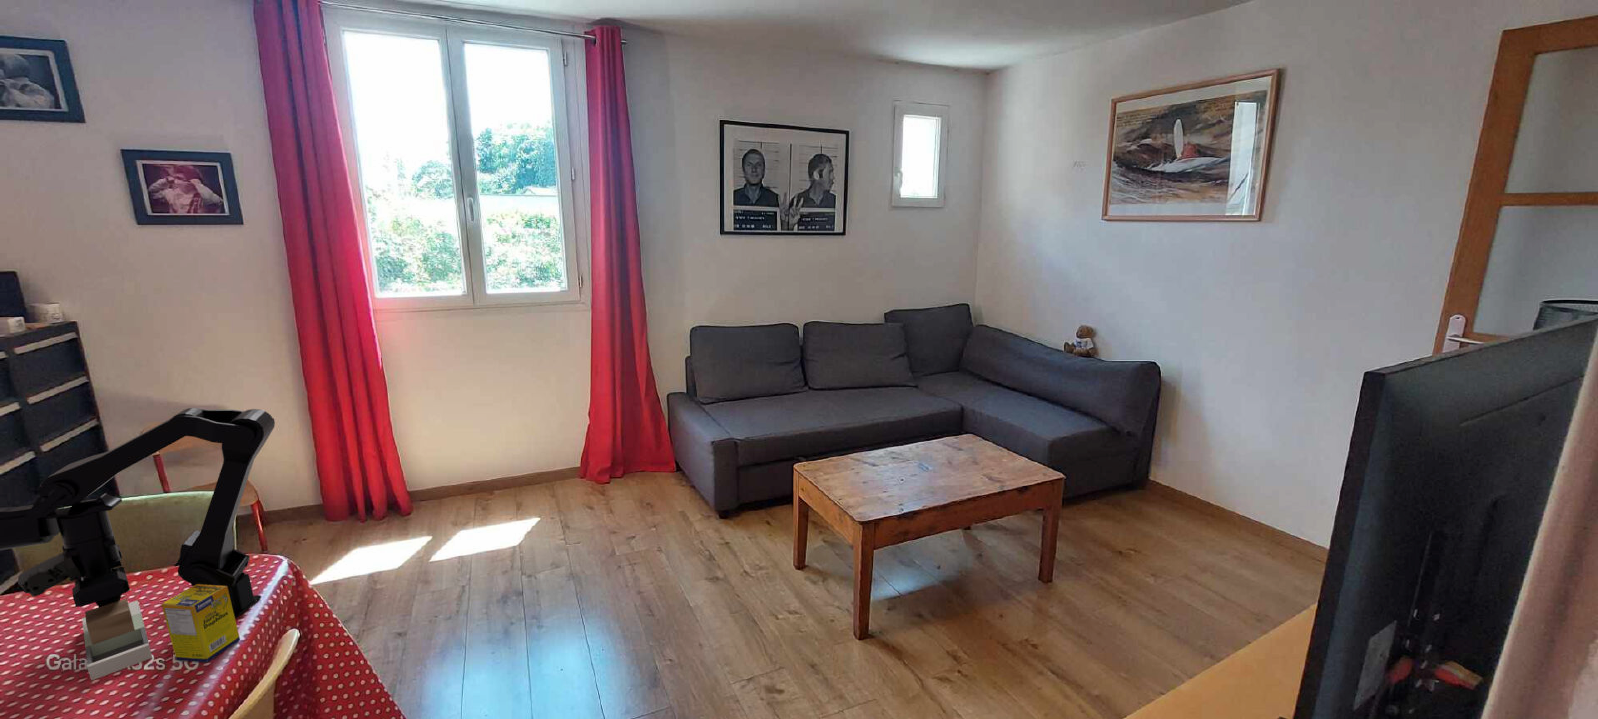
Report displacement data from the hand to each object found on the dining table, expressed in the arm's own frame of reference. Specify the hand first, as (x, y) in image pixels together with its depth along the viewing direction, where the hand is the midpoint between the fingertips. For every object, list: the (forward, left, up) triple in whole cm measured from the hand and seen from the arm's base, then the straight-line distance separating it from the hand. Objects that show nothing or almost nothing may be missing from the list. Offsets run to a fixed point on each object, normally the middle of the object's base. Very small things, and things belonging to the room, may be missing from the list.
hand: (110, 615), depth 113 cm
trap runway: (-2, +2, -3) cm, 5 cm away
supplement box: (-20, +7, -4) cm, 22 cm away
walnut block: (-3, +3, -1) cm, 5 cm away
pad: (-3, +3, -4) cm, 5 cm away
